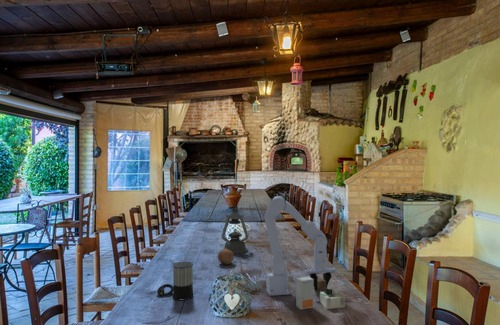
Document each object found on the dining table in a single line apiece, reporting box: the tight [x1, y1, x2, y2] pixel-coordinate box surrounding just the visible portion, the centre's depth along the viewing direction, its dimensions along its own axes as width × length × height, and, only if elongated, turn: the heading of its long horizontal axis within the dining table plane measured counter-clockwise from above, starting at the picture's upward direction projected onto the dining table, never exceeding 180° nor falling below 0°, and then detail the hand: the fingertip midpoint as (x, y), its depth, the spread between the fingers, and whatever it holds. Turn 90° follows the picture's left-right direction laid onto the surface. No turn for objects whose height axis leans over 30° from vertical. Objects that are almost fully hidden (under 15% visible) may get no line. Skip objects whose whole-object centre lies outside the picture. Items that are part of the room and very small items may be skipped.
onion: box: [217, 247, 235, 266], centre depth 224 cm, size 10×9×10 cm
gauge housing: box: [319, 290, 346, 310], centre depth 162 cm, size 8×8×4 cm
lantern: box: [221, 207, 249, 255], centre depth 257 cm, size 18×20×30 cm
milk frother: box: [156, 261, 194, 300], centre depth 173 cm, size 14×16×15 cm
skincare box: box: [295, 276, 315, 310], centre depth 159 cm, size 6×4×12 cm
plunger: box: [320, 288, 333, 298], centre depth 167 cm, size 7×4×4 cm, turn 10°
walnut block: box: [314, 278, 326, 296], centre depth 175 cm, size 4×4×6 cm
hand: (320, 289), depth 175 cm, fingers closed on walnut block, 4 cm apart
